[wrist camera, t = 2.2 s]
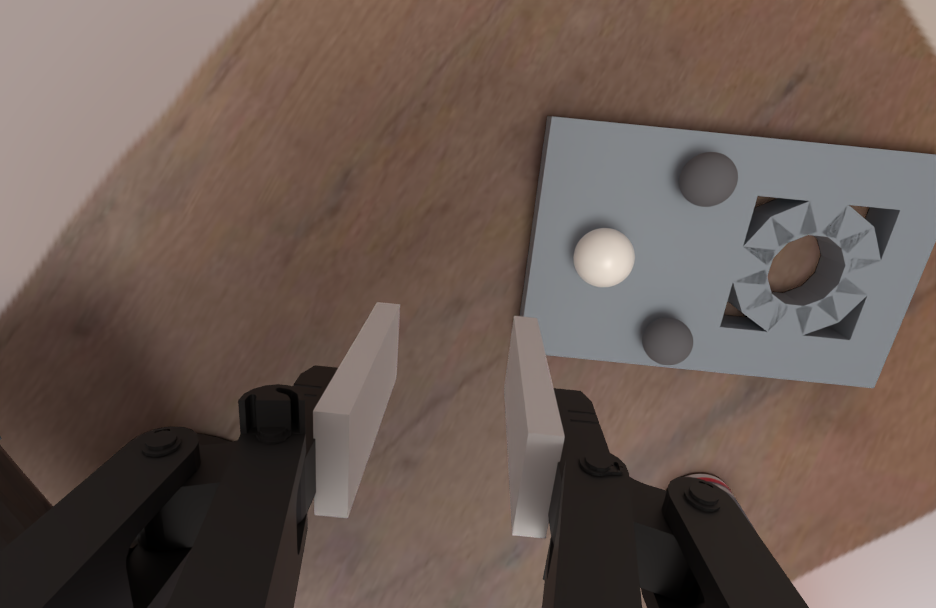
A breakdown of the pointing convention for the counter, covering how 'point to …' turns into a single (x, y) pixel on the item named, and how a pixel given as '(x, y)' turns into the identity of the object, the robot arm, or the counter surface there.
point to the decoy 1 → (667, 341)
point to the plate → (729, 250)
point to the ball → (604, 257)
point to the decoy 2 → (708, 179)
